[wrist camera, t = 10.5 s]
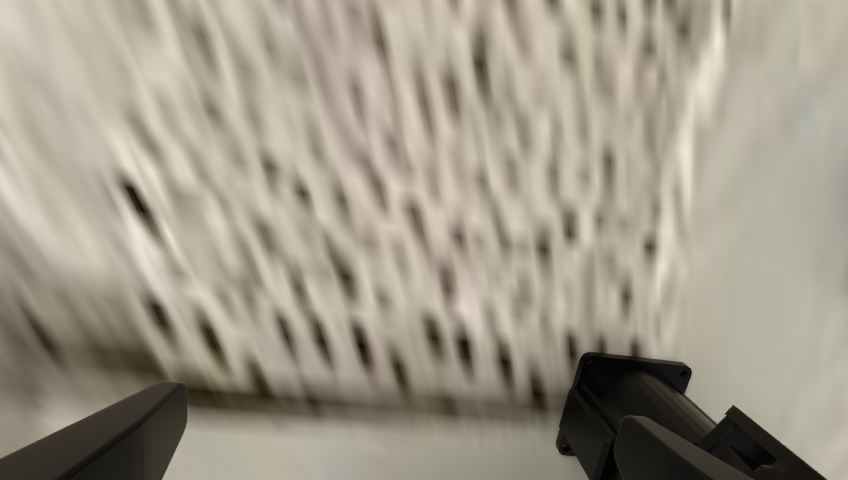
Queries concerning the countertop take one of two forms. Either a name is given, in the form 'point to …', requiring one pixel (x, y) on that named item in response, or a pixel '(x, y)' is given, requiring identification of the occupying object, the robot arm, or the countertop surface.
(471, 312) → the countertop surface
